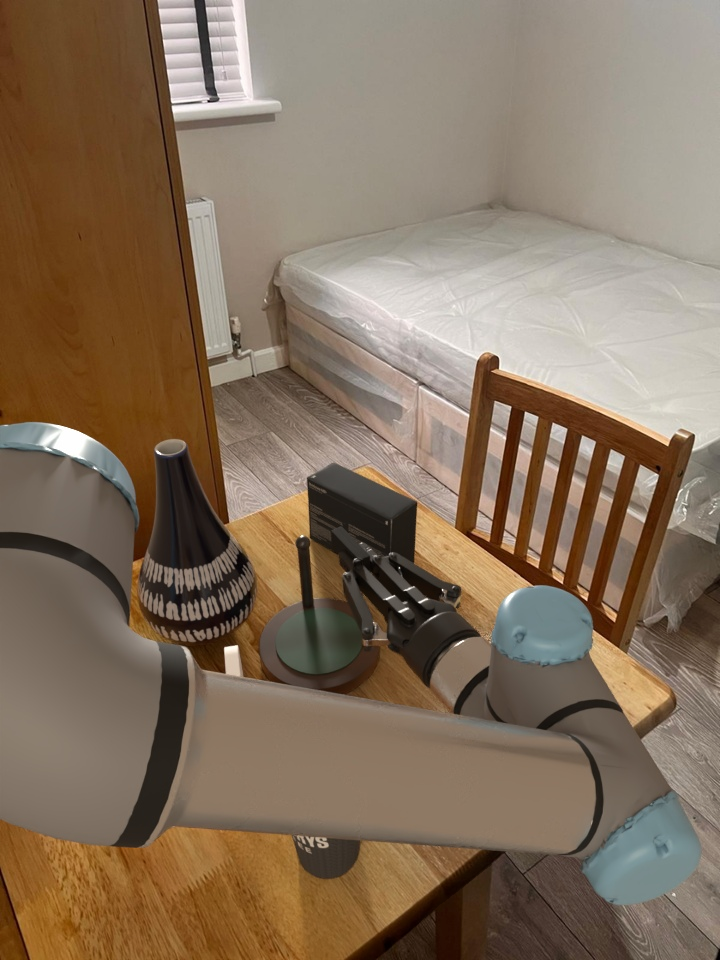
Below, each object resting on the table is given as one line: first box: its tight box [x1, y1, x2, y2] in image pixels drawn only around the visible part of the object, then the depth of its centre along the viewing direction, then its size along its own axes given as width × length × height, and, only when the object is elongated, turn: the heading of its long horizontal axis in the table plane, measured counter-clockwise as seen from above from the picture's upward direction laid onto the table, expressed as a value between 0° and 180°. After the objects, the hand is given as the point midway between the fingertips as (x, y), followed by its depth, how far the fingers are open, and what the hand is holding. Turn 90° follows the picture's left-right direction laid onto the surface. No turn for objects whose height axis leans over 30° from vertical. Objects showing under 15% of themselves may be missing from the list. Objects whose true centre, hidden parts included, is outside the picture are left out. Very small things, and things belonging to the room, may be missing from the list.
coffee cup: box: [291, 835, 361, 880], centre depth 72 cm, size 10×10×15 cm
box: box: [306, 461, 418, 574], centre depth 112 cm, size 17×7×12 cm, turn 49°
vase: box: [136, 438, 259, 647], centre depth 94 cm, size 16×16×30 cm
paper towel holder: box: [258, 535, 381, 695], centre depth 94 cm, size 16×16×14 cm
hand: (336, 537), depth 89 cm, fingers closed
